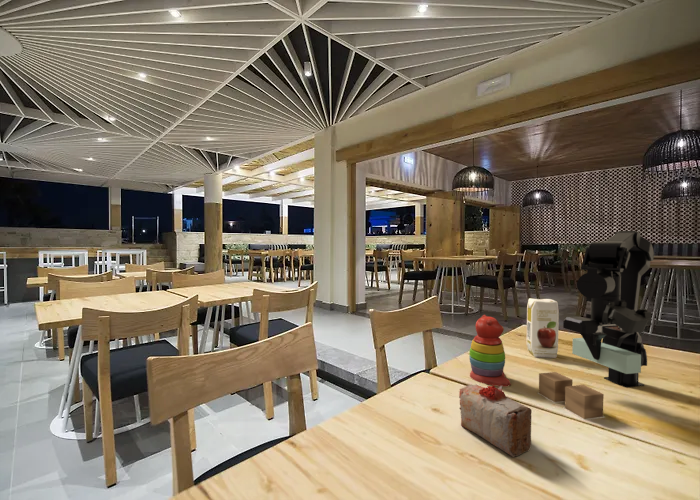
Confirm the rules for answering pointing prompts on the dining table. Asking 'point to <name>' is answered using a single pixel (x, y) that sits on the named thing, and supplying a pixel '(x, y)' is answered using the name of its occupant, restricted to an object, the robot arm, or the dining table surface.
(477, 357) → the stacking bear
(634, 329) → the robot arm
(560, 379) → the pillar
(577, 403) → the pillar
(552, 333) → the juice carton
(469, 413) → the food item
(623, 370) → the beam
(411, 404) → the dining table surface
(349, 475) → the dining table surface
